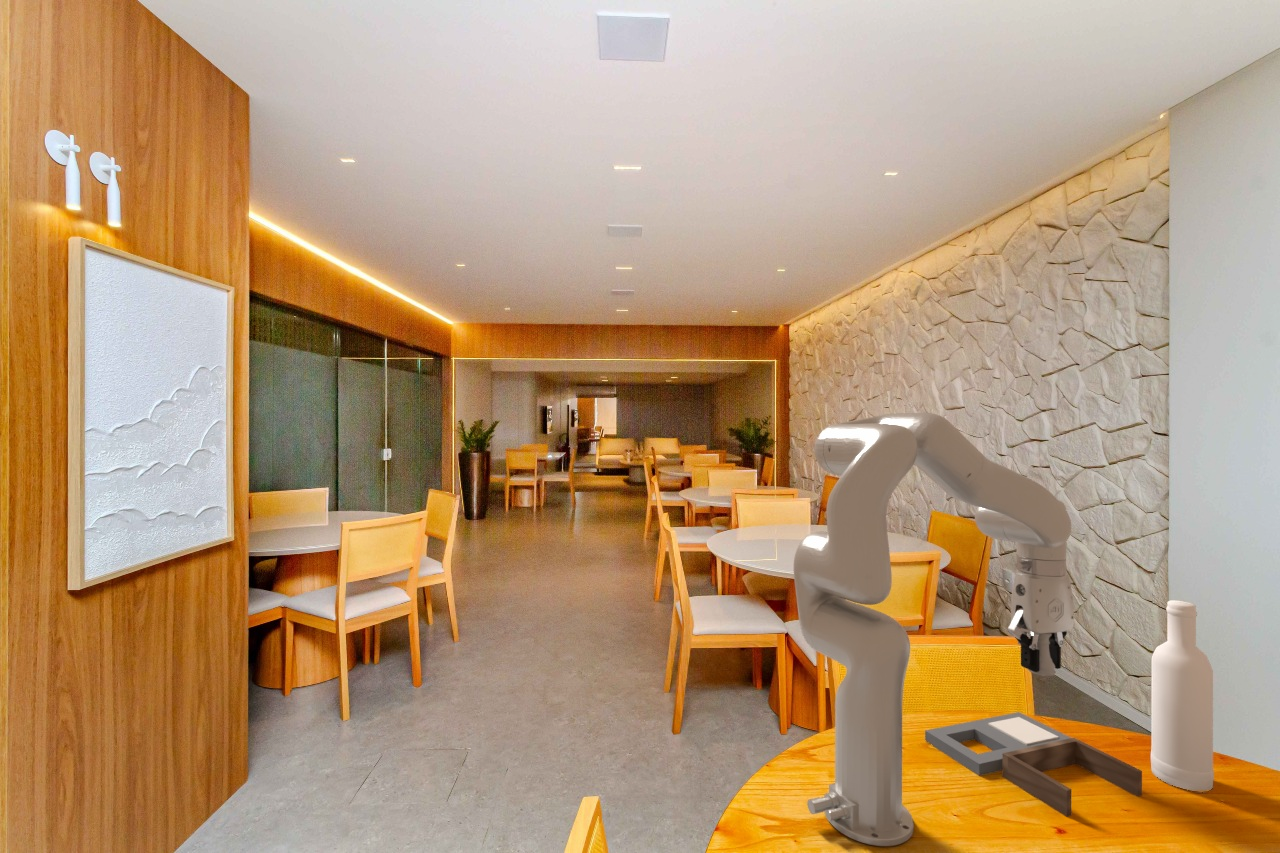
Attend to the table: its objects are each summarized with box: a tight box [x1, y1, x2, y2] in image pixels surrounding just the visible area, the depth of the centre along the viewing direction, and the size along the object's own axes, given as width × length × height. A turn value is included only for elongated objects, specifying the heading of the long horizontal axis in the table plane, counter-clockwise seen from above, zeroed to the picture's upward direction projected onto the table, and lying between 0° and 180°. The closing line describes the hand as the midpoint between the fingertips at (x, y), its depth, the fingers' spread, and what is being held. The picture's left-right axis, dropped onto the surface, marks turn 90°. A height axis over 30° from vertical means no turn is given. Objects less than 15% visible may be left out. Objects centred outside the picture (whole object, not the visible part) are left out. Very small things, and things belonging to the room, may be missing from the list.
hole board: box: [924, 711, 1072, 776], centre depth 112 cm, size 24×12×2 cm, turn 109°
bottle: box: [1150, 599, 1215, 792], centre depth 101 cm, size 8×8×30 cm
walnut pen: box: [1001, 737, 1143, 817], centre depth 99 cm, size 17×11×4 cm, turn 109°
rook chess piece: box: [1027, 633, 1057, 677], centre depth 108 cm, size 4×4×8 cm
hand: (1040, 666), depth 108 cm, fingers closed on rook chess piece, 4 cm apart
